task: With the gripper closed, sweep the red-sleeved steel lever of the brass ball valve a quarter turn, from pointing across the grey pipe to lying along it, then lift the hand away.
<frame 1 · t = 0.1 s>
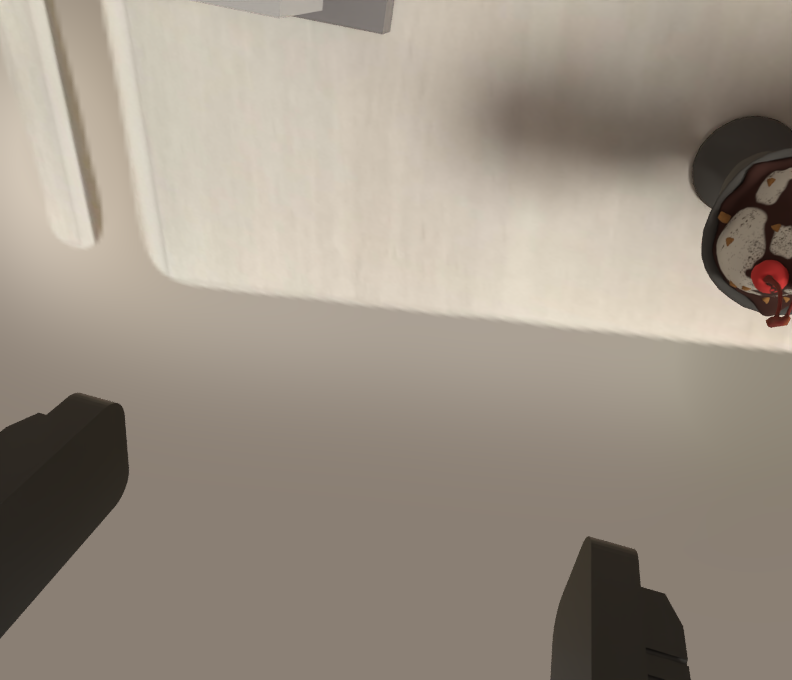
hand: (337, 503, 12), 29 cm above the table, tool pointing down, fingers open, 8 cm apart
sundae: (744, 167, 35), on the table
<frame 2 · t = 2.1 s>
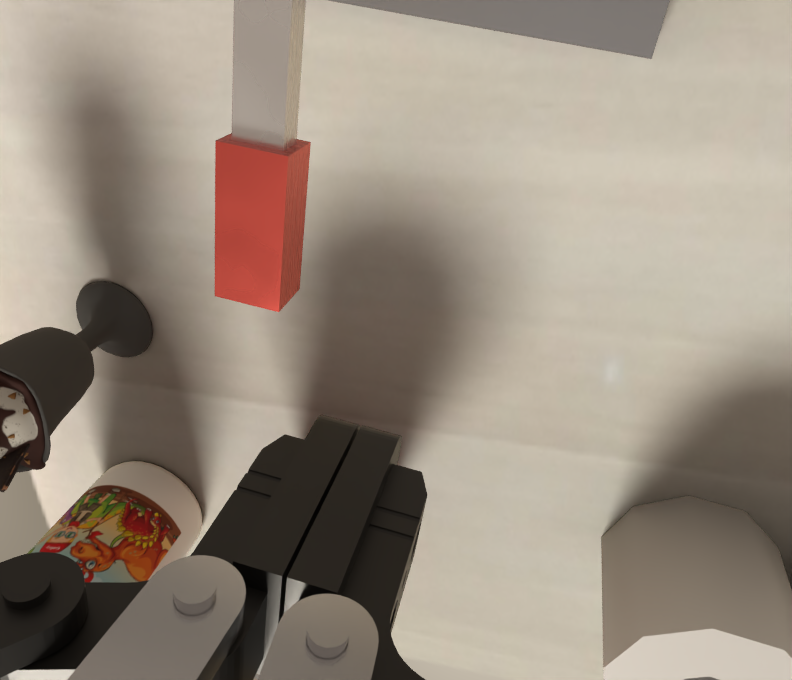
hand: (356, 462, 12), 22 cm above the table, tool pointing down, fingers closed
sundae: (116, 317, 41), on the table
milk bottle: (156, 500, 47), on the table
valve lever: (268, 64, 19), point 12 cm above the table, hinge at 0.0°
toilet tissue: (711, 562, 39), on the table
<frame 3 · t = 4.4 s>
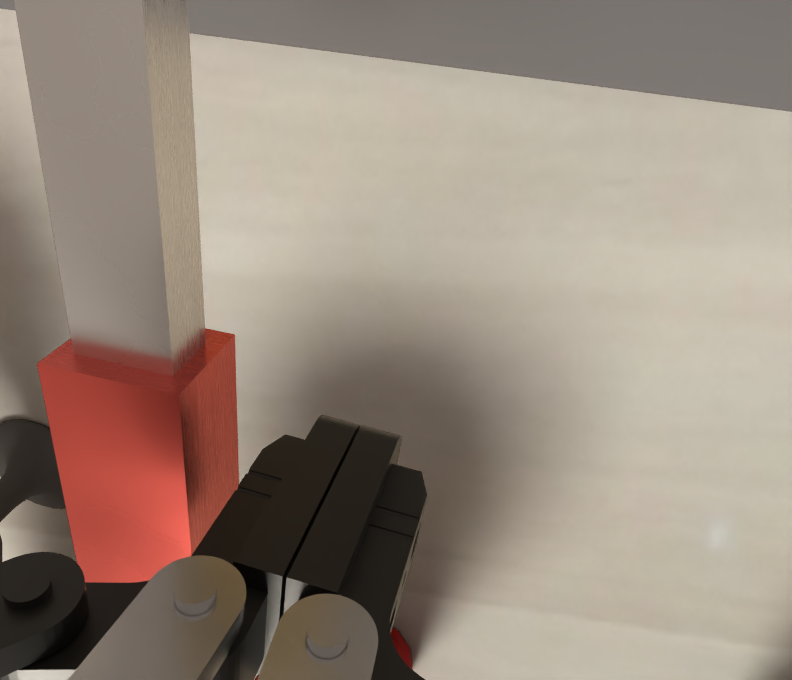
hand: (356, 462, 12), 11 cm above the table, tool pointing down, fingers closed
sundae: (42, 461, 31), on the table
valve lever: (127, 212, 9), point 12 cm above the table, hinge at 0.4°, touching gripper
plastic cup: (352, 646, 32), on the table
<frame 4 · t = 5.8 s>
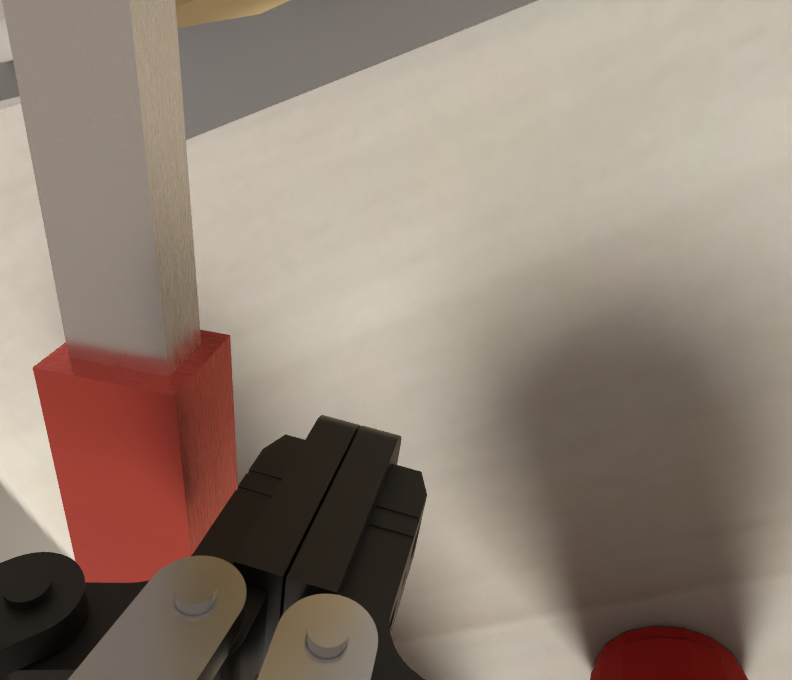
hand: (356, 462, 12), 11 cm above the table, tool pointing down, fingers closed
valve lever: (120, 214, 9), point 12 cm above the table, hinge at 25.6°, touching gripper
plastic cup: (665, 672, 28), on the table
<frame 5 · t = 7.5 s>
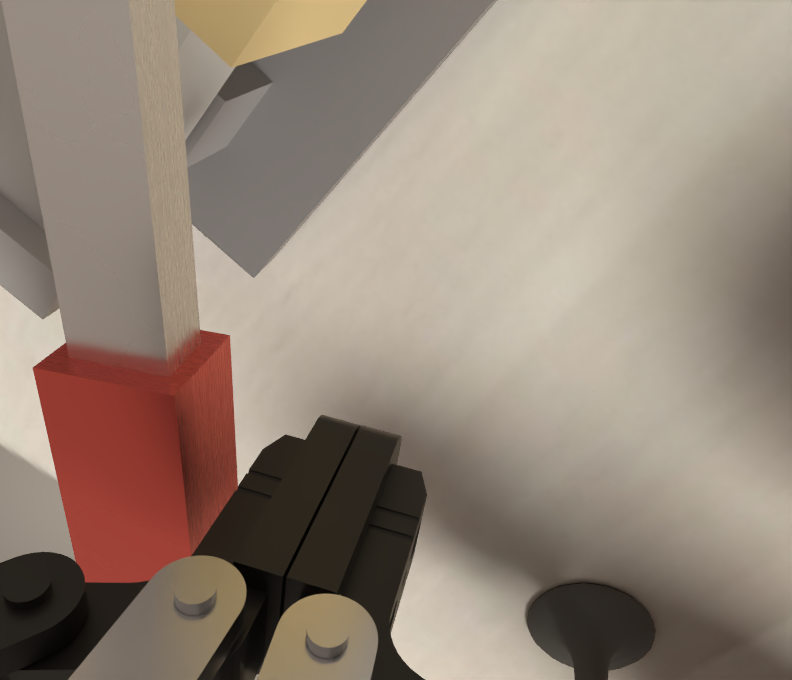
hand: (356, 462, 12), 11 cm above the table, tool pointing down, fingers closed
sundae: (588, 622, 28), on the table
valve lever: (120, 214, 9), point 12 cm above the table, hinge at 52.9°, touching gripper
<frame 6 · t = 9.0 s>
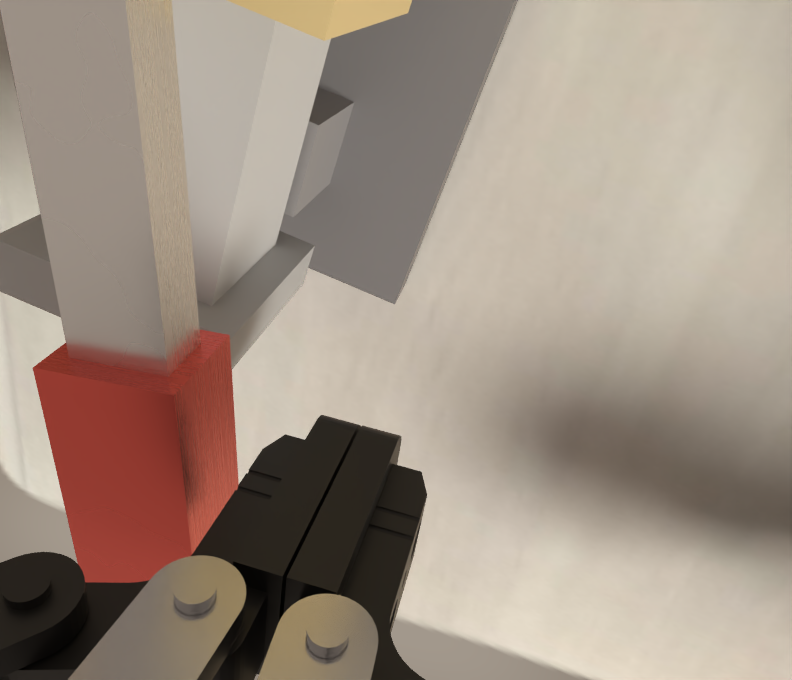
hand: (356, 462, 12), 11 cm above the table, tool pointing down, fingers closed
valve lever: (118, 214, 9), point 12 cm above the table, hinge at 74.7°, touching gripper
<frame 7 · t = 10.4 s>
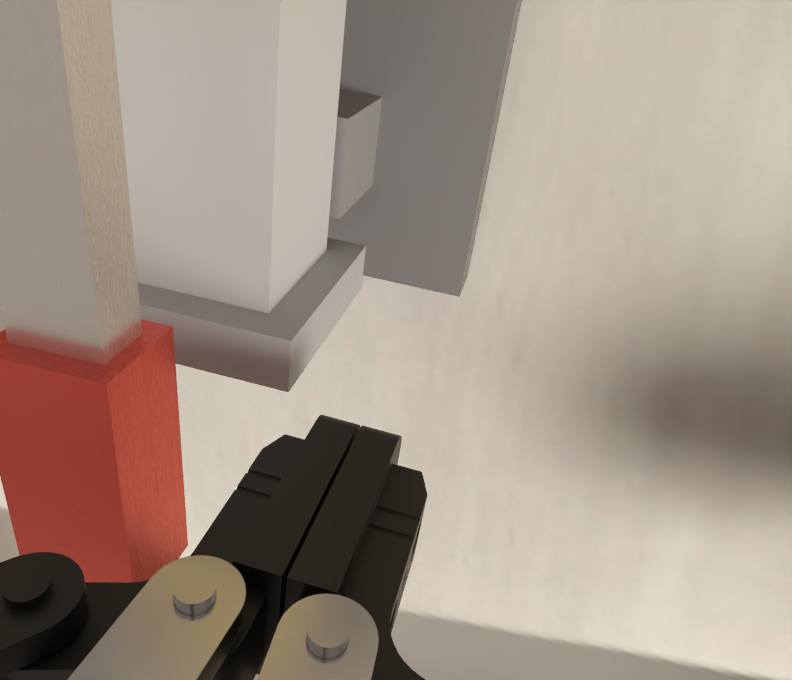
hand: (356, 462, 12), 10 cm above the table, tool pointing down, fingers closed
valve lever: (57, 203, 9), point 12 cm above the table, hinge at 88.7°
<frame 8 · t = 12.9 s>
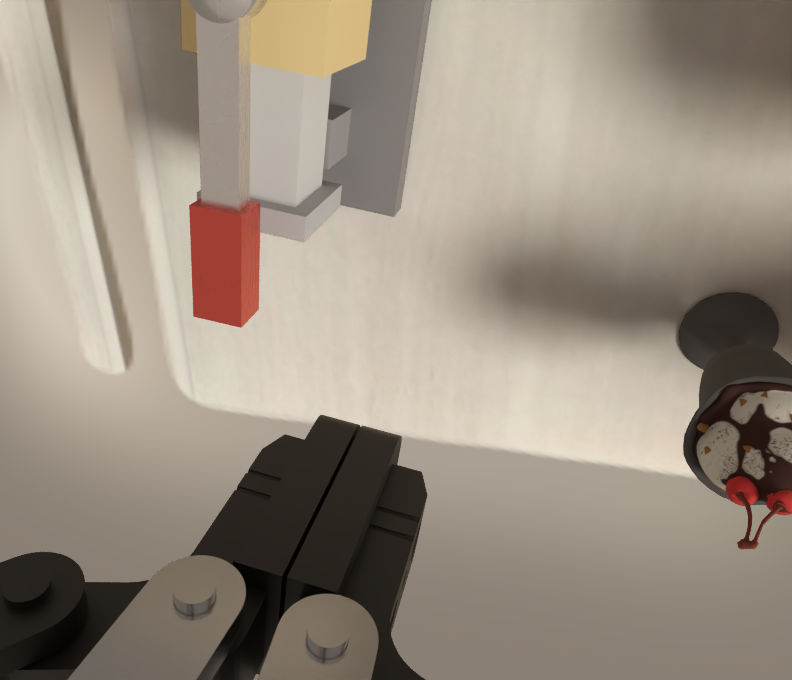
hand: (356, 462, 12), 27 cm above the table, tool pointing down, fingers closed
sundae: (726, 332, 38), on the table
valve lever: (225, 150, 27), point 12 cm above the table, hinge at 88.7°
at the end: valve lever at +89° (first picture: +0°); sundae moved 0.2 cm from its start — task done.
